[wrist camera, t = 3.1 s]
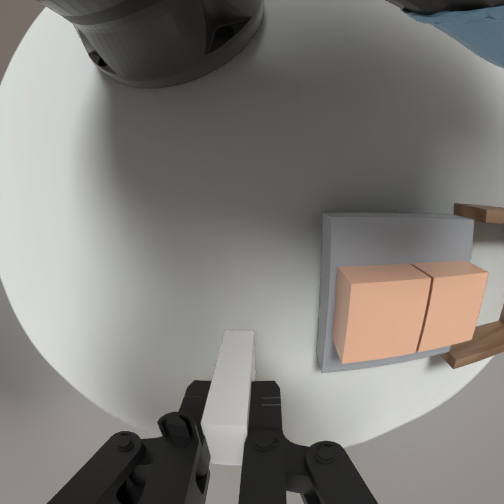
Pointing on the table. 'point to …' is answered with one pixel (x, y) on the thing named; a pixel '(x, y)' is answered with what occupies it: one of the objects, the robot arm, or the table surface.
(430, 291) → the tile
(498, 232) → the table surface
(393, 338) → the tile
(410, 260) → the board
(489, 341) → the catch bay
